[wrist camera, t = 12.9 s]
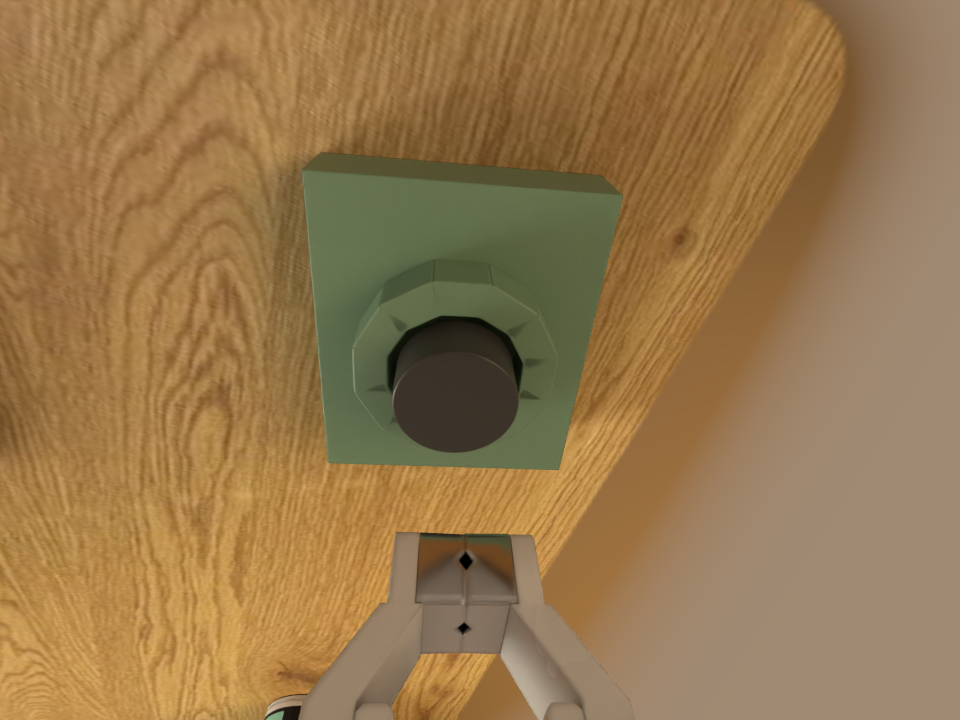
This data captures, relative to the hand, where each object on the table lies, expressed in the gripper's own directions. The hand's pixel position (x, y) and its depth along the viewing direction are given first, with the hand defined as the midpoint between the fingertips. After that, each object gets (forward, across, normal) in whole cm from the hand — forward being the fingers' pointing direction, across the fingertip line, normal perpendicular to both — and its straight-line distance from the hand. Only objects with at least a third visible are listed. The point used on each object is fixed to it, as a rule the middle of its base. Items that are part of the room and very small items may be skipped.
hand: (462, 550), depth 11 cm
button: (+8, 0, 0) cm, 8 cm away
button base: (+12, 0, 0) cm, 12 cm away
